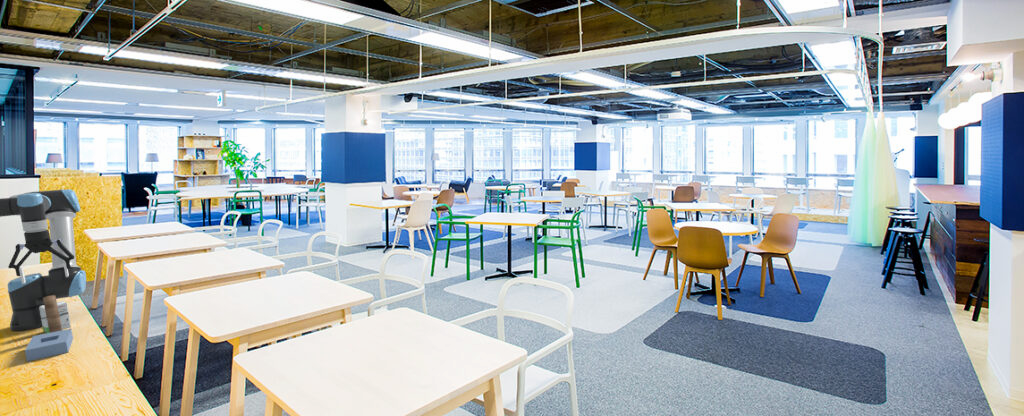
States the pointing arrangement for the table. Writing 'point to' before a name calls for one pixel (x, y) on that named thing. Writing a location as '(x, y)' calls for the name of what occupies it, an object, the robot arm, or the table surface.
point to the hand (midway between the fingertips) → (46, 279)
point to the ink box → (62, 314)
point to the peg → (52, 313)
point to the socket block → (49, 344)
